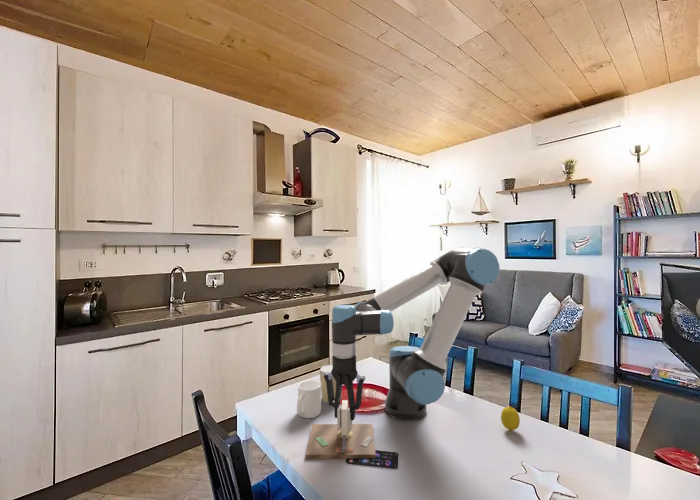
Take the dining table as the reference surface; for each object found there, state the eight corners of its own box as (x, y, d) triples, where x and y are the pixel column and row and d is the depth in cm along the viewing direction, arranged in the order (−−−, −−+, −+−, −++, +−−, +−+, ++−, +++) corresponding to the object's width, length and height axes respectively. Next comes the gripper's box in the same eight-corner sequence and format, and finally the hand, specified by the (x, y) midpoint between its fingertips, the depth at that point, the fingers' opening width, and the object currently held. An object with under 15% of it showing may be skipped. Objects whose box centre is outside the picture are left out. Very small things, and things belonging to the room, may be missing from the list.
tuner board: (372, 427, 110) (372, 423, 110) (375, 458, 94) (375, 453, 94) (312, 427, 111) (312, 423, 111) (305, 458, 95) (305, 453, 95)
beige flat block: (348, 427, 107) (348, 400, 107) (347, 452, 94) (347, 421, 94) (341, 427, 107) (341, 400, 107) (339, 452, 94) (339, 421, 94)
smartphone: (349, 447, 99) (399, 452, 97) (349, 449, 100) (399, 454, 97) (344, 463, 92) (398, 469, 90) (344, 465, 92) (398, 471, 90)
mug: (307, 426, 111) (307, 396, 111) (287, 420, 115) (287, 391, 115) (325, 410, 122) (325, 382, 122) (306, 405, 126) (306, 378, 126)
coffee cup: (329, 391, 138) (329, 362, 138) (347, 397, 133) (347, 367, 132) (314, 399, 130) (314, 369, 130) (333, 406, 125) (333, 375, 125)
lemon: (519, 428, 109) (519, 404, 109) (520, 437, 104) (520, 412, 104) (500, 424, 112) (500, 401, 111) (500, 433, 107) (500, 408, 106)
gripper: (371, 353, 105) (371, 426, 106) (325, 349, 110) (326, 418, 110) (365, 361, 98) (366, 439, 98) (316, 356, 103) (317, 431, 103)
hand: (345, 428), depth 104 cm, fingers closed on beige flat block, 3 cm apart
